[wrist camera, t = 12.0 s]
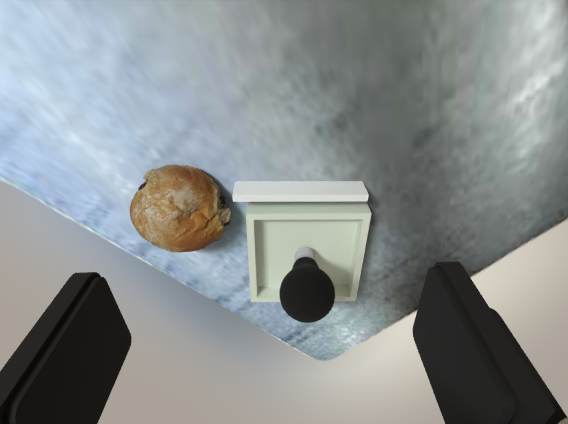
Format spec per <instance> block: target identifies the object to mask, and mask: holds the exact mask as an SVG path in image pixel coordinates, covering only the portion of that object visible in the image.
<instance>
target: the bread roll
mask: <svg viewBox="0 0 568 424" xmlns="http://www.w3.org/2000/svg"><path fill="white" fill-rule="evenodd" d="M143 178H144V179H145V180H146V181H145V182H144V183H143V184H142V185H141V186H140V187H139V190H138V192H137V193H136V194H135V196H134V198H133V200H132V202H131V206H130V217H131V221H132V223H133V225H134V227H135V228H136V230H137V231H138V233H139V234H140V235H141V236H142V237H143V238H145V239H146V240H147V241H149V242H151V243H152V244H153V245H155V246H157V247H159V248H161V249H164V250H166V251H170V252H191V251H195V250H199V249H201V248H204V247H205V246H206V245H208V244H210V243H212V242H214V241H218V240H220V238H221V235H222V233H223V232H224V230H225V226H227V225H228V224H229V222H230V215H231V211H230V208H229V207H228V208H225V203H226V199H225V198H224V197H223V196H222V195H221V193H220V189H219V186H218V185H217V184H216V183H215V182H214V181H213V179H212V178H210V177H209V176H208V175H207V174H206V173H204V172H203V171H201V170H200V169H198V168H193V167H189V166H180V165H166V166H163V167H161V168H158V169H155V170H154V169H152V170H150V171H149V172H147V173H146V174H145V175H144V177H143Z"/></svg>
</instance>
